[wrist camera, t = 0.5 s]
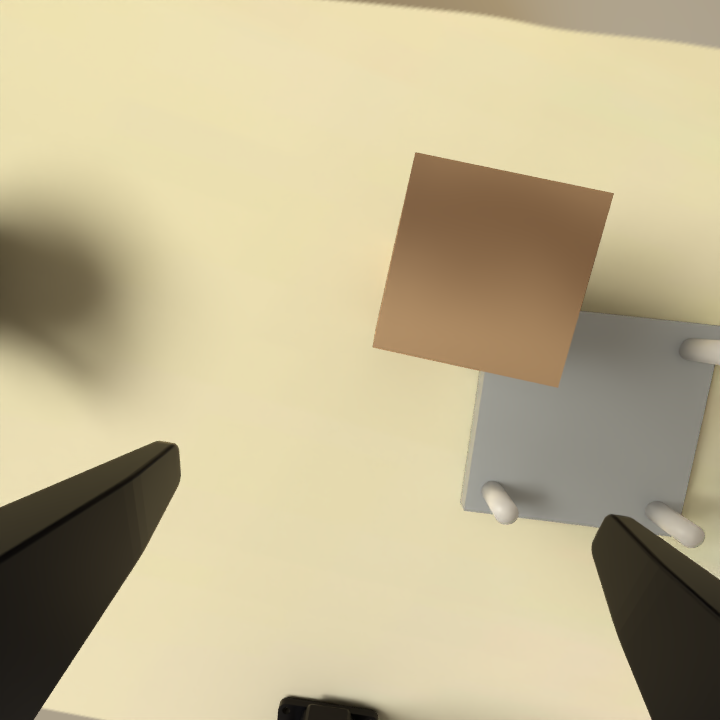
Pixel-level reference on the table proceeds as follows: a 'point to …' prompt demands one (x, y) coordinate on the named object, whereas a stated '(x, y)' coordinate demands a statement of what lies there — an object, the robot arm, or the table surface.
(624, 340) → the peg stand
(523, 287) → the walnut block
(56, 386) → the table surface
